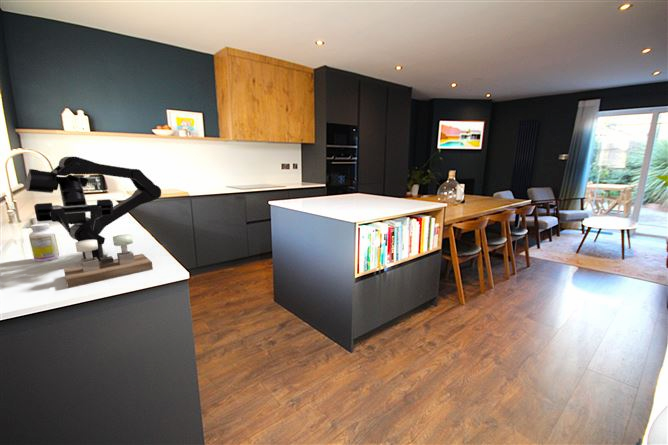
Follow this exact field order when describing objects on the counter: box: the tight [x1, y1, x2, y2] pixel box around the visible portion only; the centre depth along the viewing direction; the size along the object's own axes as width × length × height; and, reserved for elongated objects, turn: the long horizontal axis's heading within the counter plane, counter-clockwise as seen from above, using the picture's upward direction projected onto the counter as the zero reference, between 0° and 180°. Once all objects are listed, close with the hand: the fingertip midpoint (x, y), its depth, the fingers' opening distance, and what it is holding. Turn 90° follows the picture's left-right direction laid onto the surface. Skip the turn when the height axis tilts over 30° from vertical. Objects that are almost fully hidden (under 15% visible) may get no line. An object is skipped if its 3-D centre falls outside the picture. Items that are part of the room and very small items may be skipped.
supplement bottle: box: [28, 222, 60, 262], centre depth 107 cm, size 7×7×13 cm
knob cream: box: [75, 240, 98, 260], centre depth 90 cm, size 5×5×6 cm
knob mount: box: [63, 250, 154, 289], centre depth 95 cm, size 12×21×6 cm, turn 134°
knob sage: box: [112, 234, 134, 254], centre depth 96 cm, size 5×5×6 cm
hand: (81, 230), depth 93 cm, fingers open, 5 cm apart
